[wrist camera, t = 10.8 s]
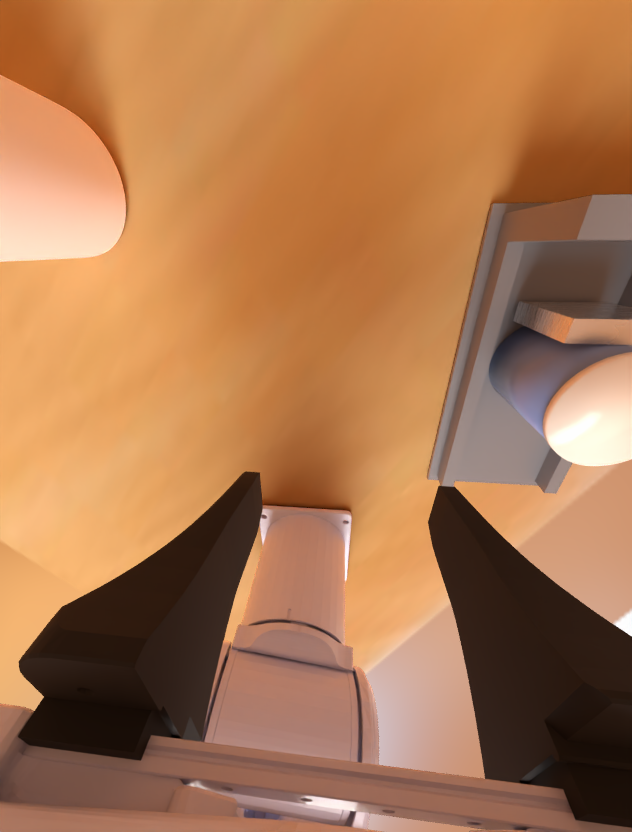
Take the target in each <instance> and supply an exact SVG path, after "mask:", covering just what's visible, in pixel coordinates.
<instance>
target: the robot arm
mask: <svg viewBox="0 0 632 832" xmlns="http://www.w3.org/2000/svg"><path fill="white" fill-rule="evenodd" d="M345 520H347V521H345ZM351 522H352V514H351V512H349V511H345V510H329V509H314V508H298V507H282V506H267V505H262V493H261V482H260V473H258V472H244V473H243V474H242V475H241V476H240V477H239V478H238V479H237V480H236V481H235V483H234V484H233V485H232V486H231V487H230V488H229V489H228V490H227V491H226V492H225V493H224V494H223V495H222V496H221V497H220V498H219V499H218V500H217V501H216V502H215V503H214V504H213V505H212V506H211V507H210V508H209V509H208V510H207V511H206V512H205V513H204V514H203V515H202V516H200V517H199V518H198V519H197V520H196V521H195V522H194V523H193V524H192V525H190V526H189V527H188V528H187V529H186V530H185V531H183V532H182V533H181V534H180V535H178V536H177V537H176V538H175V539H173V540H172V541H171V542H169V543H168V544H167V545H165V546H164V547H163V548H161V549H160V550H158V551H157V552H156V553H154V554H153V555H151V556H150V557H148V558H147V559H145V560H144V561H142V562H141V563H139V564H138V565H136V566H135V567H133V568H131V569H130V570H128V571H127V572H125V573H123V574H122V575H120V576H118V577H117V578H115V579H113V580H111V581H110V582H108V583H106V584H104V585H103V586H101V587H99V588H97V589H95V590H93V591H91V592H90V593H88V594H86V595H84V596H82V597H80V598H78V599H76V600H75V601H73V602H71V603H69V604H67V605H65V606H63V607H61V609H60V610H59V611H58V612H57V613H56V614H55V616H54V617H53V618H52V619H51V621H50V622H49V623H48V624H47V625H46V627H45V628H44V629H43V631H42V632H41V633H40V635H39V636H38V637H37V638H36V640H35V641H34V642H33V643H32V645H31V646H30V647H29V649H28V650H27V651H26V652H25V654H24V655H23V656H22V658H21V659H20V661H19V668H20V672H21V673H22V675H23V676H24V677H25V678H26V679H27V680H28V681H29V682H30V683H31V684H32V685H33V686H34V687H35V688H36V689H37V690H38V691H39V692H40V693H41V694H42V695H43V696H44V698H43V699H42V701H41V702H40V704H39V705H38V707H37V708H36V710H35V711H33V710H31V709H28V708H25V707H20V706H14V705H6V704H0V832H382V831H375V830H368V822H369V817H370V813H372V814H379V815H386V816H393V817H400V818H407V819H414V820H421V821H428V822H435V823H443V824H450V825H457V826H464V827H471V828H478V829H485V830H477V831H474V830H472V831H469V832H632V637H631V636H630V635H628V634H627V633H625V632H624V631H622V630H621V629H619V628H618V627H616V626H615V625H613V624H612V623H610V622H609V621H607V620H606V619H604V618H603V617H601V616H600V615H599V614H597V613H596V612H594V611H593V610H591V609H590V608H589V607H587V606H586V605H584V604H583V603H582V602H580V601H579V600H578V599H576V598H575V597H574V596H572V595H571V594H569V593H568V592H567V591H565V590H564V589H563V588H561V587H560V586H559V585H557V584H556V583H555V582H554V581H552V580H551V579H550V578H549V577H547V576H546V575H545V574H544V573H543V572H541V571H540V570H539V569H538V568H537V567H535V566H534V565H533V564H532V563H530V562H529V561H528V560H527V559H526V558H525V557H524V556H523V555H521V554H520V553H519V552H518V551H517V550H516V549H515V548H514V547H513V546H512V545H511V544H510V543H509V542H507V541H506V540H505V539H504V538H503V537H502V536H501V535H500V534H499V533H498V532H497V531H496V530H495V529H494V528H493V527H492V526H491V525H490V524H489V523H488V522H487V521H486V520H485V519H484V518H483V517H482V515H481V514H480V513H479V512H478V511H477V510H476V509H475V508H474V507H473V506H472V505H471V504H470V503H469V502H468V501H467V499H466V498H465V497H464V496H463V495H462V494H461V493H460V492H459V491H458V490H457V489H456V488H455V487H449V486H439V487H438V490H437V494H436V497H435V500H434V504H433V507H432V511H431V514H430V517H429V521H428V524H429V530H430V535H431V540H432V545H433V549H434V552H435V556H436V559H437V562H438V565H439V568H440V571H441V574H442V577H443V580H444V583H445V587H446V590H447V593H448V596H449V599H450V602H451V605H452V608H453V612H454V615H455V619H456V623H457V628H458V632H459V636H460V641H461V645H462V650H463V655H464V660H465V664H466V669H467V674H468V679H469V684H470V690H471V695H472V701H473V706H474V711H475V717H476V723H477V729H478V735H479V741H480V747H481V753H482V759H483V767H484V773H485V779H482V778H474V777H466V776H459V775H451V774H444V773H436V772H428V771H420V770H413V769H405V768H398V767H390V766H383V765H379V733H378V732H379V731H378V719H377V709H376V703H375V699H374V694H373V691H372V688H371V686H370V684H369V682H368V680H367V678H366V676H365V674H364V672H363V670H362V669H361V668H359V667H355V666H353V648H352V647H350V646H346V645H345V581H346V580H347V570H348V558H349V546H350V534H351ZM259 524H260V530H261V538H262V545H263V547H262V551H261V555H260V558H259V562H258V565H257V569H256V573H255V576H254V580H253V584H252V587H251V591H250V595H249V598H248V602H247V605H246V609H245V613H244V616H243V620H242V624H241V625H238V626H237V630H236V633H235V637H234V640H233V644H232V648H231V642H230V641H224V637H225V632H226V628H227V624H228V621H229V617H230V613H231V609H232V605H233V601H234V598H235V594H236V591H237V588H238V585H239V582H240V579H241V577H242V574H243V571H244V568H245V566H246V563H247V560H248V557H249V555H250V552H251V549H252V546H253V543H254V541H255V538H256V535H257V532H258V528H259Z"/></svg>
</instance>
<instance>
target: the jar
mask: <svg viewBox="0 0 632 832" xmlns="http://www.w3.org/2000/svg"><path fill="white" fill-rule="evenodd" d="M489 379H490V382H491V385H492V387H493V388H494V390H495V391H496V392H497V393H498V394H499V395H500V396H501V397H502V398H503V399H504V400H505V401H506V402H508V403H509V404H510V405H511V406H512V407H513V408H514V409H515V410H516V411H517V412H518V413H519V414H520V415H521V416H522V417H523V418H524V419H525V420H526V421H527V422H528V423H529V424H530V425H531V426H532V427H534V428H535V429H536V430H537V431H538V432H539V433H540V434H541V435H542V436H543V437H544V438H545V439H546V441H547V443H548V445H549V446H550V447H551V448H552V449H553V450H554V451H555V452H556V453H557V454H558V455H559V456H561V457H562V458H564V459H565V460H567V461H570V462H572V463H575V464H579V465H585V466H605V465H612V464H617V463H621V462H624V461H628V460H631V459H632V346H629V345H614V344H567V343H562V342H560V341H558V340H555V339H553V338H551V337H548V336H546V335H544V334H542V333H539V332H537V331H535V330H533V329H530V328H528V327H526V326H523V327H521V328H519V329H518V330H516V331H514V332H513V333H512V334H510V335H509V336H508V337H507V338H506V339H505V340H504V341H503V342H502V343H501V344H500V345H499V346H498V348H497V349H496V351H495V353H494V354H493V356H492V359H491V362H490V365H489Z"/></svg>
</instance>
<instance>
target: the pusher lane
mask: <svg viewBox="0 0 632 832" xmlns="http://www.w3.org/2000/svg"><path fill="white" fill-rule="evenodd" d="M519 301H528V302H608V303H613V304H618V305H622V306H627V307H632V194H614V195H590V196H585V197H580V198H575V199H570V200H566V201H561V202H556V203H493V204H491V206H490V210H489V214H488V219H487V223H486V227H485V231H484V236H483V240H482V244H481V248H480V253H479V257H478V261H477V265H476V270H475V274H474V278H473V282H472V287H471V291H470V295H469V300H468V304H467V308H466V312H465V317H464V321H463V325H462V329H461V334H460V338H459V342H458V346H457V351H456V355H455V359H454V364H453V368H452V372H451V376H450V381H449V385H448V389H447V393H446V398H445V402H444V406H443V410H442V415H441V419H440V423H439V427H438V432H437V436H436V440H435V445H434V449H433V453H432V457H431V462H430V466H429V470H428V474H427V478H428V479H429V480H439V482H440V485H441V486H449V487H453V486H454V482H455V481H465V482H483V483H501V484H520V485H538V486H539V487H540V488H541V489H542V491H543V492H544V493H557V491H558V489H559V487H560V485H561V484H562V482H563V480H564V478H565V476H566V474H567V472H568V470H569V468H570V467H571V465H572V462H570V461H567V460H565V459H564V458H562V457H561V456H559V455H558V454H557V453H556V452H555V451H554V450H553V449H552V448H551V447H550V446H549V445H548V443H547V441H546V439H545V438H544V437H543V436H542V435H541V434H540V433H539V432H538V431H537V430H536V429H535V428H534V427H532V426H531V425H530V424H529V423H528V422H527V421H526V420H525V419H524V418H523V417H522V416H521V415H520V414H519V413H518V412H517V411H516V410H515V409H514V408H513V407H512V406H511V405H510V404H509V403H508V402H506V401H505V400H504V399H503V398H502V397H501V396H500V395H499V394H498V393H497V392H496V391H495V390H494V388H493V387H492V385H491V382H490V379H489V365H490V362H491V359H492V356H493V354H494V353H495V351H496V349H497V348H498V346H499V345H500V344H501V343H502V342H503V341H504V340H505V339H506V338H507V337H508V336H509V335H510V334H512V333H513V332H514V331H516V330H518V329H519V328H521V327H523V326H524V325H521V324H519V323H517V322H515V321H513V319H514V316H515V313H516V310H517V307H518V303H519ZM629 346H632V345H629Z"/></svg>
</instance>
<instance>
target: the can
mask: <svg viewBox="0 0 632 832" xmlns="http://www.w3.org/2000/svg"><path fill="white" fill-rule="evenodd" d="M125 218H126V201H125V194H124V189H123V184H122V181H121V178H120V175H119V172H118V170H117V167H116V165H115V163H114V161H113V159H112V157H111V155H110V153H109V152H108V150H107V148H106V147H105V145H104V144H103V142H102V141H101V140H100V138H99V137H98V136H97V135H96V133H95V132H94V131H93V130H92V129H91V128H90V127H89V126H88V125H87V124H86V123H85V122H84V121H83V120H82V119H80V118H79V117H78V116H77V115H75V114H74V113H72V112H71V111H69V110H68V109H66V108H64V107H62V106H61V105H59V104H57V103H55V102H53V101H51V100H49V99H47V98H45V97H43V96H41V95H39V94H38V93H36V92H34V91H32V90H30V89H28V88H26V87H24V86H22V85H20V84H18V83H16V82H14V81H12V80H10V79H8V78H6V77H4V76H2V75H0V262H3V261H26V260H48V259H69V258H86V257H94V256H98V255H101V254H104V253H105V252H107V251H109V250H110V249H111V248H112V247H113V246H114V245H115V244H116V243H117V241H118V240H119V238H120V236H121V234H122V231H123V228H124V224H125Z"/></svg>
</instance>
